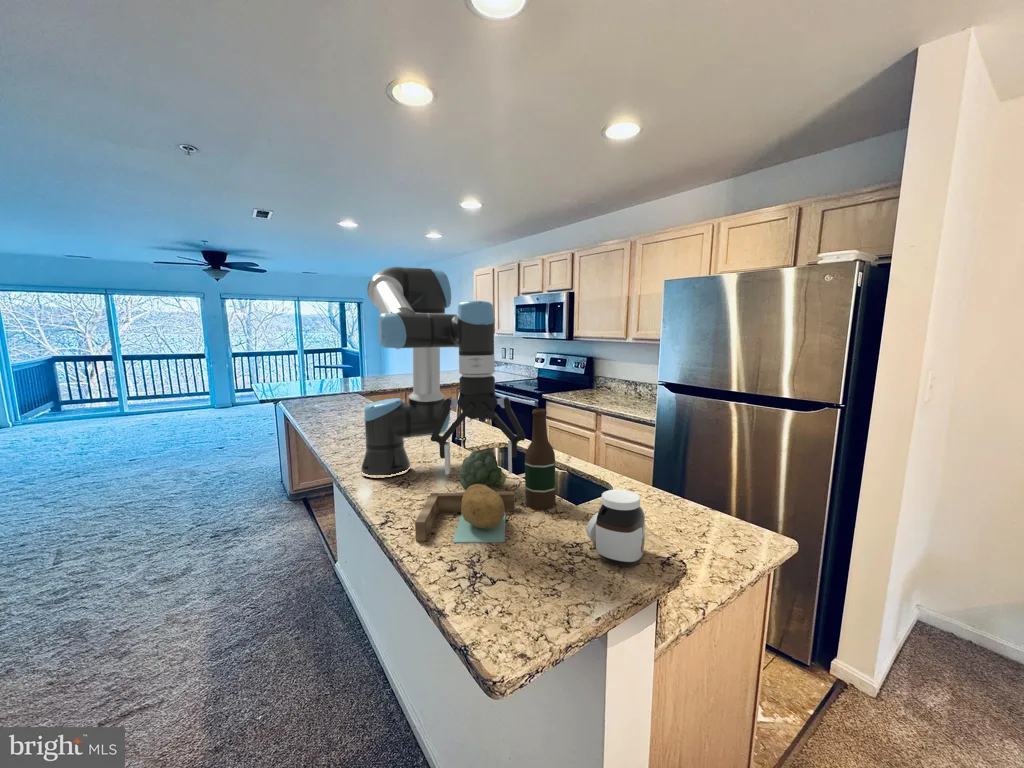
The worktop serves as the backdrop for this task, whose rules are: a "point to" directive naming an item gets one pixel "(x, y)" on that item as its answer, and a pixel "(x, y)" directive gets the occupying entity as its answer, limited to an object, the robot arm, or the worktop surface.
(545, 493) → the beer bottle
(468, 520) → the potato
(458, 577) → the worktop surface
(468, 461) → the vegetable
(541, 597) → the worktop surface
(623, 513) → the spread jar
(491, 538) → the pad
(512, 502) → the corner arena
